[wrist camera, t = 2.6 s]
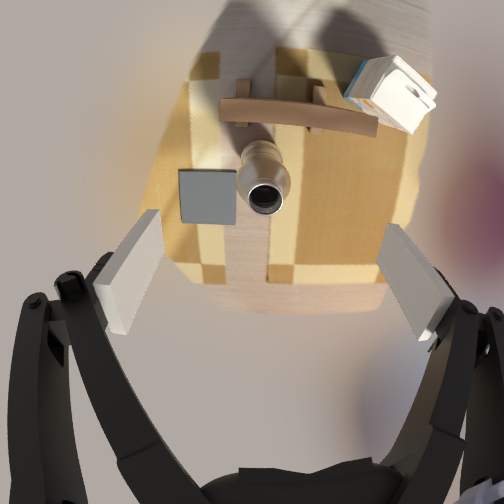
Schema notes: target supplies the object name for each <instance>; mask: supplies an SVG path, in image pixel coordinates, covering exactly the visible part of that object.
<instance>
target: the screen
mask: <svg viewBox="0 0 504 504" xmlns="http://www.w3.org/2000/svg"><path fill="white" fill-rule="evenodd" d="M326 97H327V87H321V86H313V93H312V103H308V102H300V101H291V100H281V99H268V98H250V80H249V79H237V92H236V97H232V98H224V99H220V116H219V121H234V122H235V127H242V128H248V122H258V123H273V124H285V125H296V126H305V127H309V132H310V133H316V134H323V129H329V130H335V131H342V132H348V133H354V134H359V135H365V136H370V137H375V138H376V133H377V126H378V119H379V117H376V116H372V115H368V114H364V113H360V112H356V111H352V110H348V109H343V108H338V107H333V106H328V105H326Z"/></svg>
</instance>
